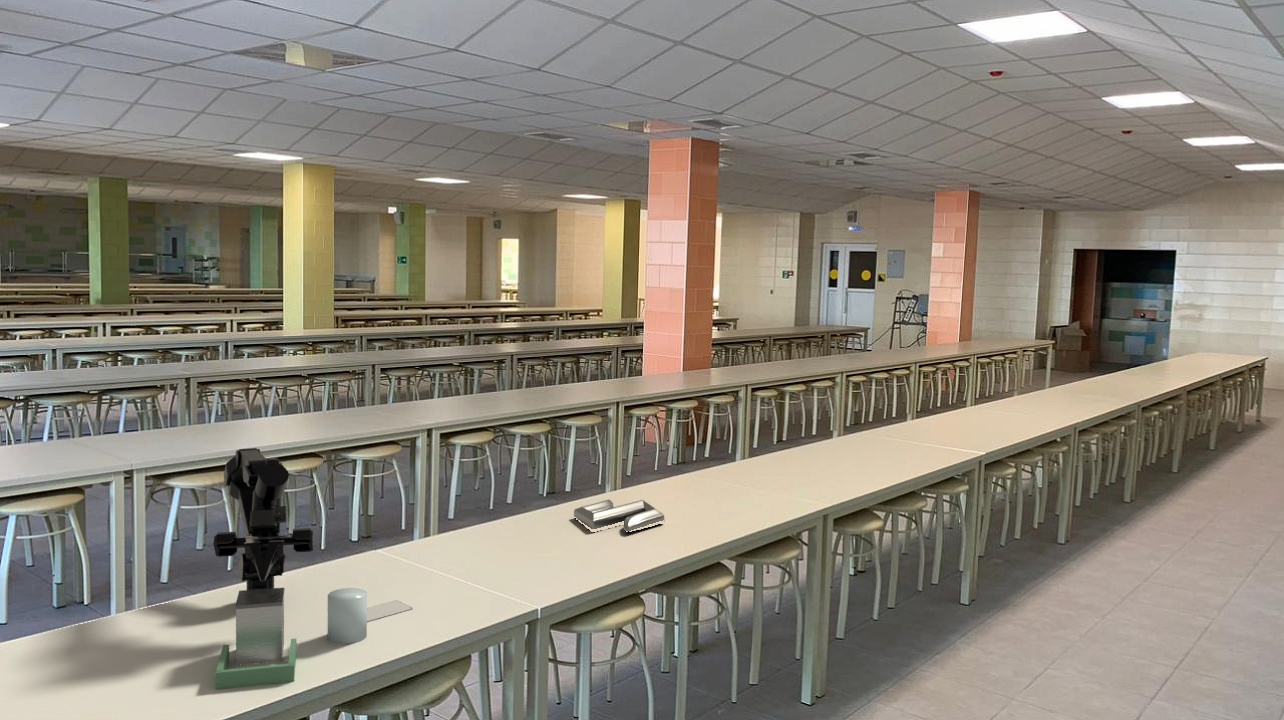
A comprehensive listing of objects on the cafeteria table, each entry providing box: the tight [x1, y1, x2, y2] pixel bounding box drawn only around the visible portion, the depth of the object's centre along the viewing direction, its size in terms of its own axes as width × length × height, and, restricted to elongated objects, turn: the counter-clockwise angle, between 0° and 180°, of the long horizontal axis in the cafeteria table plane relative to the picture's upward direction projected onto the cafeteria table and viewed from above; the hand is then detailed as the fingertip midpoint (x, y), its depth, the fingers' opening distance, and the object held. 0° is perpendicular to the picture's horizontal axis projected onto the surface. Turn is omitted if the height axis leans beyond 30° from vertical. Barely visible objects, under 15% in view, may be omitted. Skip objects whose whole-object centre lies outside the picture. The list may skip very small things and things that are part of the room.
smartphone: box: [367, 600, 413, 623], centre depth 200 cm, size 7×1×15 cm
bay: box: [214, 638, 297, 690], centre depth 170 cm, size 12×13×3 cm
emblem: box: [573, 499, 665, 532], centre depth 279 cm, size 28×5×28 cm
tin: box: [234, 587, 285, 666], centre depth 177 cm, size 8×8×12 cm
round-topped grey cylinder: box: [327, 587, 368, 645], centre depth 186 cm, size 8×8×9 cm
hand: (262, 580), depth 183 cm, fingers closed
